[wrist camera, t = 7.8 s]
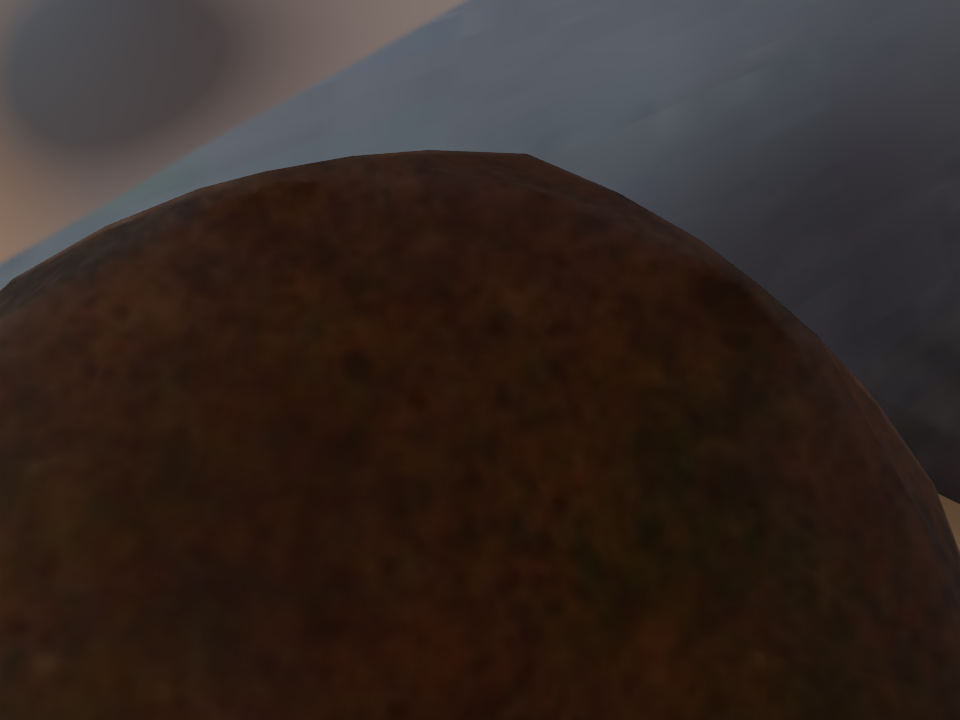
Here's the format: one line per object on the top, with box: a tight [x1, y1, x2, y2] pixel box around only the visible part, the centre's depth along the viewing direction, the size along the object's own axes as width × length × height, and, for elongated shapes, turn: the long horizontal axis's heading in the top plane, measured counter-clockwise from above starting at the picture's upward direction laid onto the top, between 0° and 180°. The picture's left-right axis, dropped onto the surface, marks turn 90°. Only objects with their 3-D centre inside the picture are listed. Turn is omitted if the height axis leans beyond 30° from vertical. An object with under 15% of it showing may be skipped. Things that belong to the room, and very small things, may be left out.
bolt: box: [0, 150, 960, 720], centre depth 9 cm, size 6×5×15 cm
